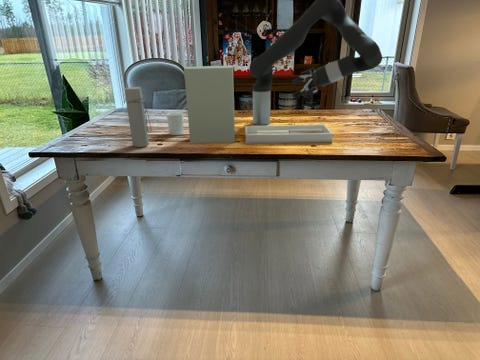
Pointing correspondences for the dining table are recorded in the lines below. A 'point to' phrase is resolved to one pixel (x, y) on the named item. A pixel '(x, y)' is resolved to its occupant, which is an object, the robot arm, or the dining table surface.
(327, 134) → the tray
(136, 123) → the water bottle
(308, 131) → the beige long bar
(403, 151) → the dining table surface
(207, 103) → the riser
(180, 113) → the white cup
